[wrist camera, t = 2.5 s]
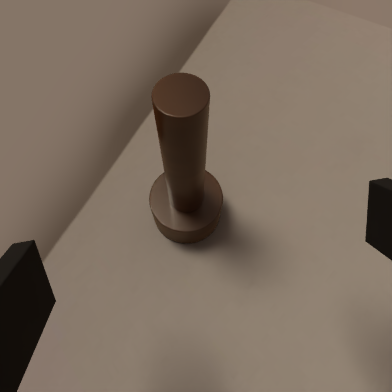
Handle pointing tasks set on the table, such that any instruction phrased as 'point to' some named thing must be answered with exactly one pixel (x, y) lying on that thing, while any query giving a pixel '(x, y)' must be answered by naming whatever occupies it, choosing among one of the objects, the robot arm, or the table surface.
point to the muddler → (184, 161)
